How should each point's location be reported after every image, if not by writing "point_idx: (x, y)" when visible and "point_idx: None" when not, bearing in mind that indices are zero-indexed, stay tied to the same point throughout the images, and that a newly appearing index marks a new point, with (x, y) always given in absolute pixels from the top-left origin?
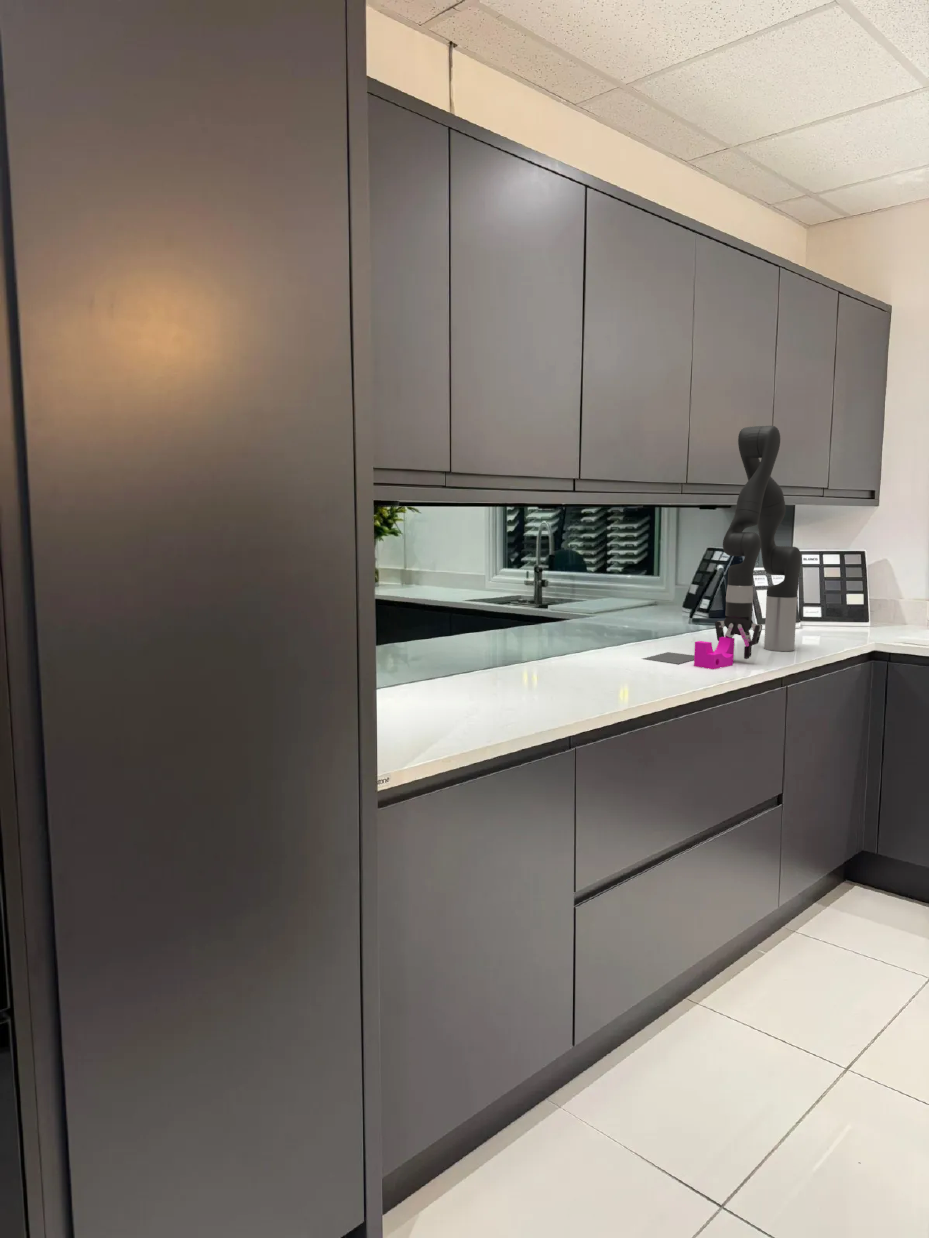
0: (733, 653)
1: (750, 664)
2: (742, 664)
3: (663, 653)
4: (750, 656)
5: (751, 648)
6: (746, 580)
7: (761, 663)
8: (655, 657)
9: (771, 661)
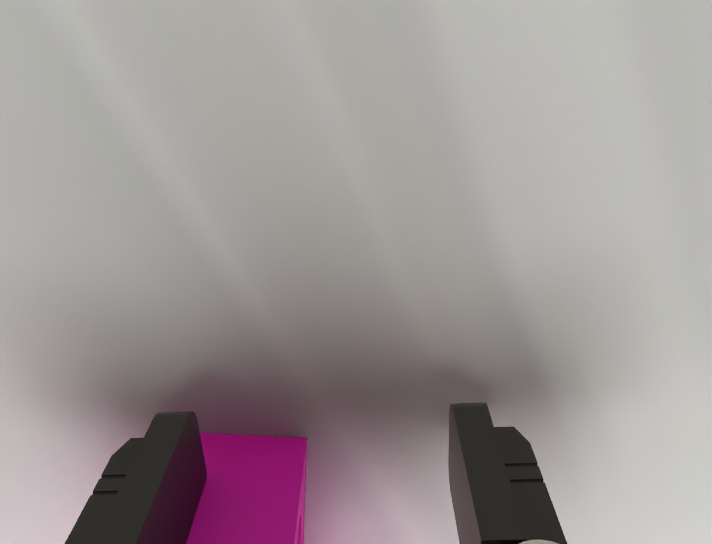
0: (296, 534)
1: (523, 425)
2: None
3: None
4: (515, 431)
5: (559, 526)
6: None
7: (617, 278)
8: None
9: (704, 4)
